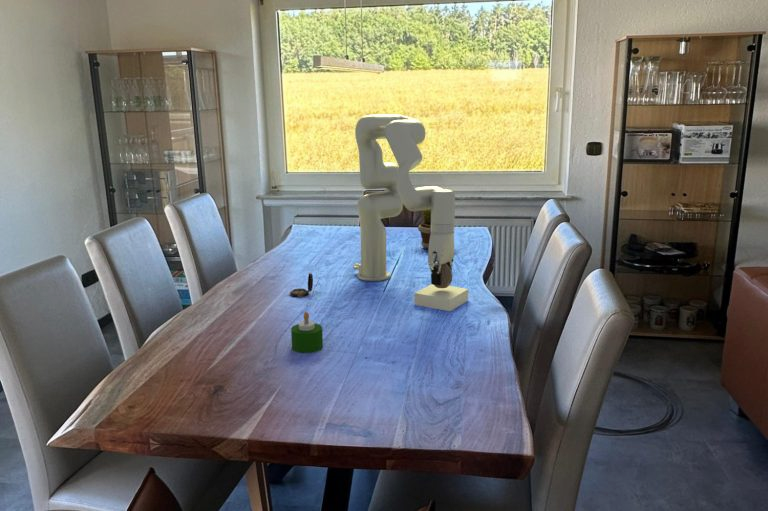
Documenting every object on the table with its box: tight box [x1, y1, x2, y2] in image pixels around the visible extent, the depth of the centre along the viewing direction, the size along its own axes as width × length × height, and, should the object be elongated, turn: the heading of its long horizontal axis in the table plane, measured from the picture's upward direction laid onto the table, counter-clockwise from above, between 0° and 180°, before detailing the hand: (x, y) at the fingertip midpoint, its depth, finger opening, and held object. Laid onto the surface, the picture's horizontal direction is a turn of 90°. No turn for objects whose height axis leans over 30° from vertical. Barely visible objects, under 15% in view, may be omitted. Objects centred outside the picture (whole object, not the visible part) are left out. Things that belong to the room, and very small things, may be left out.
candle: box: [290, 311, 324, 354], centre depth 167 cm, size 8×8×10 cm
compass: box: [289, 273, 314, 298], centre depth 213 cm, size 8×8×7 cm
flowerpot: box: [417, 209, 431, 251], centre depth 278 cm, size 14×15×20 cm
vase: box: [434, 262, 453, 288], centre depth 202 cm, size 7×7×9 cm
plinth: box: [413, 284, 469, 312], centre depth 204 cm, size 13×13×4 cm
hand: (441, 281), depth 203 cm, fingers closed on vase, 6 cm apart
